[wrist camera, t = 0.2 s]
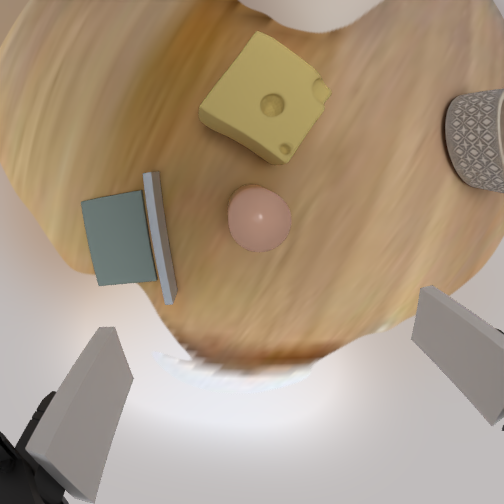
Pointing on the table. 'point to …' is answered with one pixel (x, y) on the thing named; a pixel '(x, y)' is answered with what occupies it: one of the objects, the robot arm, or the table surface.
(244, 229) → the pink rounded cylinder
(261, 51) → the cheese
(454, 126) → the planter
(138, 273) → the mat
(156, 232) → the divider wall
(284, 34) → the table surface
